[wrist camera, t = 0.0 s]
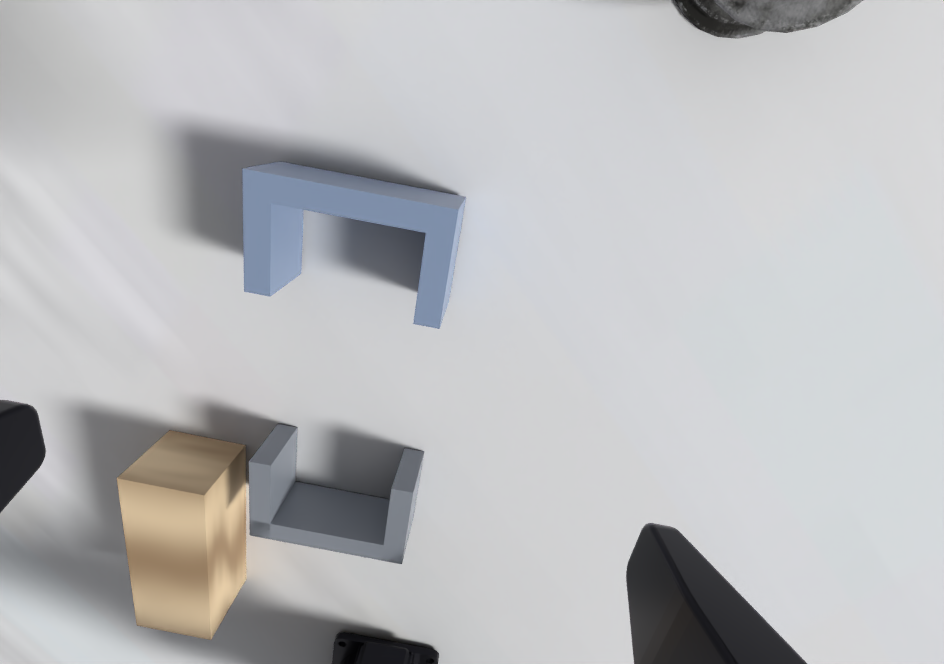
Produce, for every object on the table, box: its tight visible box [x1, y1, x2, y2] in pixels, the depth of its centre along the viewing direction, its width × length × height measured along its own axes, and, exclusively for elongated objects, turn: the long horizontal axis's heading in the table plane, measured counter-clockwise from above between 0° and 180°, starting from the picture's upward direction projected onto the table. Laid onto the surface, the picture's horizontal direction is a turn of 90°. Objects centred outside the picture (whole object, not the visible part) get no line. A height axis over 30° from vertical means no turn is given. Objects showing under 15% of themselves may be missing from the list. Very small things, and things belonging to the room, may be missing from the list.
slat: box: [117, 430, 246, 640], centre depth 26 cm, size 10×4×4 cm, turn 169°
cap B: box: [242, 161, 466, 329], centre depth 19 cm, size 4×8×3 cm, turn 80°
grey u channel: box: [249, 424, 424, 564], centre depth 24 cm, size 4×8×3 cm, turn 80°
